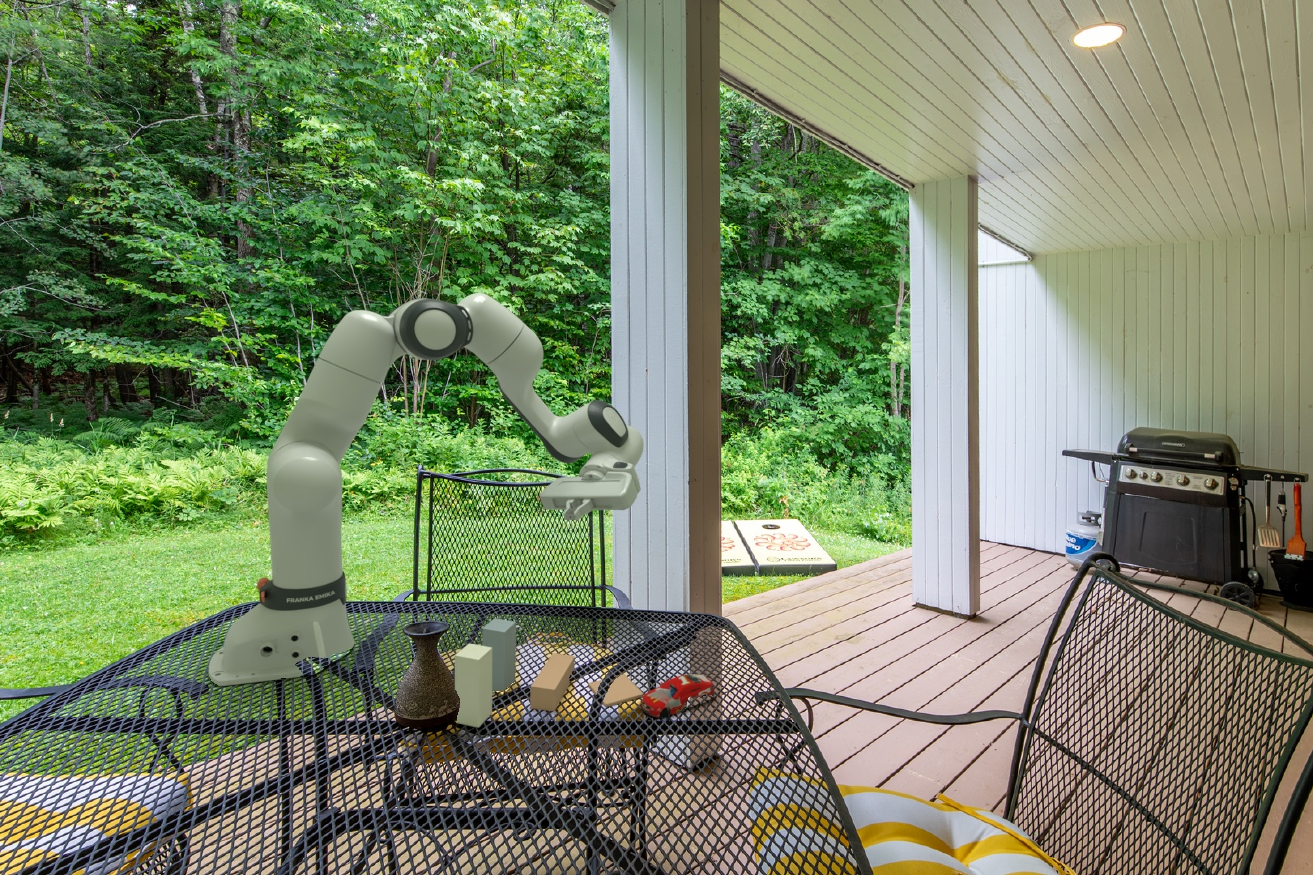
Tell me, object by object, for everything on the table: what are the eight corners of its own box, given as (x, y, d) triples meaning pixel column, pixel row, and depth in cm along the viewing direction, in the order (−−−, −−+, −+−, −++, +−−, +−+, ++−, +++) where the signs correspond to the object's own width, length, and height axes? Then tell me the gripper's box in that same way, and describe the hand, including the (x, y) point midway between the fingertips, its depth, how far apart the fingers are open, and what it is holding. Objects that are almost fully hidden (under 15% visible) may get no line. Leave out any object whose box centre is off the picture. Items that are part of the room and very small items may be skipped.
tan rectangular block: (574, 677, 112) (554, 712, 101) (552, 674, 112) (530, 709, 101) (574, 656, 111) (554, 689, 100) (552, 653, 112) (530, 686, 101)
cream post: (478, 727, 96) (478, 659, 94) (455, 722, 97) (454, 655, 95) (491, 713, 100) (492, 647, 98) (469, 708, 101) (469, 643, 99)
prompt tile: (605, 707, 103) (605, 704, 102) (587, 686, 108) (588, 683, 108) (643, 696, 106) (643, 693, 106) (624, 676, 112) (624, 674, 112)
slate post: (503, 694, 105) (504, 632, 103) (482, 690, 106) (482, 628, 104) (515, 682, 109) (515, 622, 107) (494, 678, 110) (494, 618, 108)
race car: (652, 724, 99) (653, 701, 98) (634, 707, 104) (635, 684, 103) (719, 701, 106) (720, 679, 105) (700, 686, 111) (701, 665, 110)
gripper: (555, 466, 136) (520, 504, 125) (639, 463, 127) (611, 504, 116) (564, 490, 138) (531, 529, 127) (647, 490, 129) (620, 531, 119)
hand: (570, 517), depth 122 cm, fingers closed
